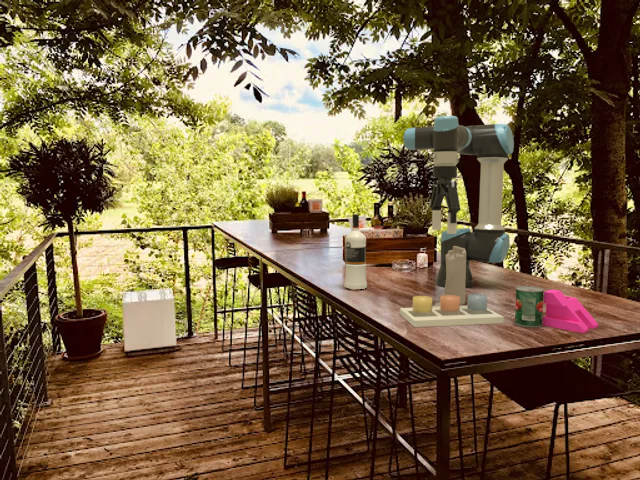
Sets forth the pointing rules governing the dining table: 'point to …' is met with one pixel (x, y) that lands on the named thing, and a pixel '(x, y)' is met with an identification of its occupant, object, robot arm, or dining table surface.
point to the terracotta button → (450, 303)
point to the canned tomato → (529, 306)
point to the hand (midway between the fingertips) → (443, 231)
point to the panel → (451, 317)
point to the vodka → (355, 257)
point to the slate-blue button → (477, 302)
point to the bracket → (566, 313)
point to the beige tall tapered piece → (455, 274)
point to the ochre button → (422, 304)
